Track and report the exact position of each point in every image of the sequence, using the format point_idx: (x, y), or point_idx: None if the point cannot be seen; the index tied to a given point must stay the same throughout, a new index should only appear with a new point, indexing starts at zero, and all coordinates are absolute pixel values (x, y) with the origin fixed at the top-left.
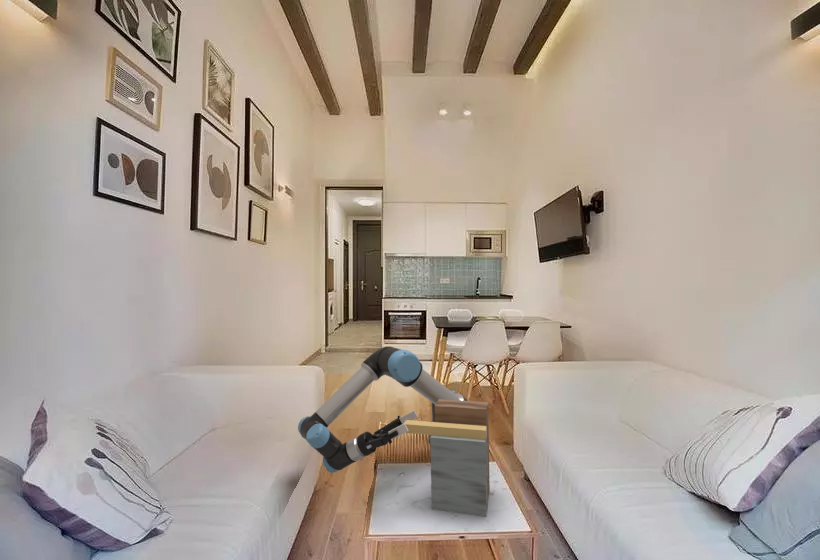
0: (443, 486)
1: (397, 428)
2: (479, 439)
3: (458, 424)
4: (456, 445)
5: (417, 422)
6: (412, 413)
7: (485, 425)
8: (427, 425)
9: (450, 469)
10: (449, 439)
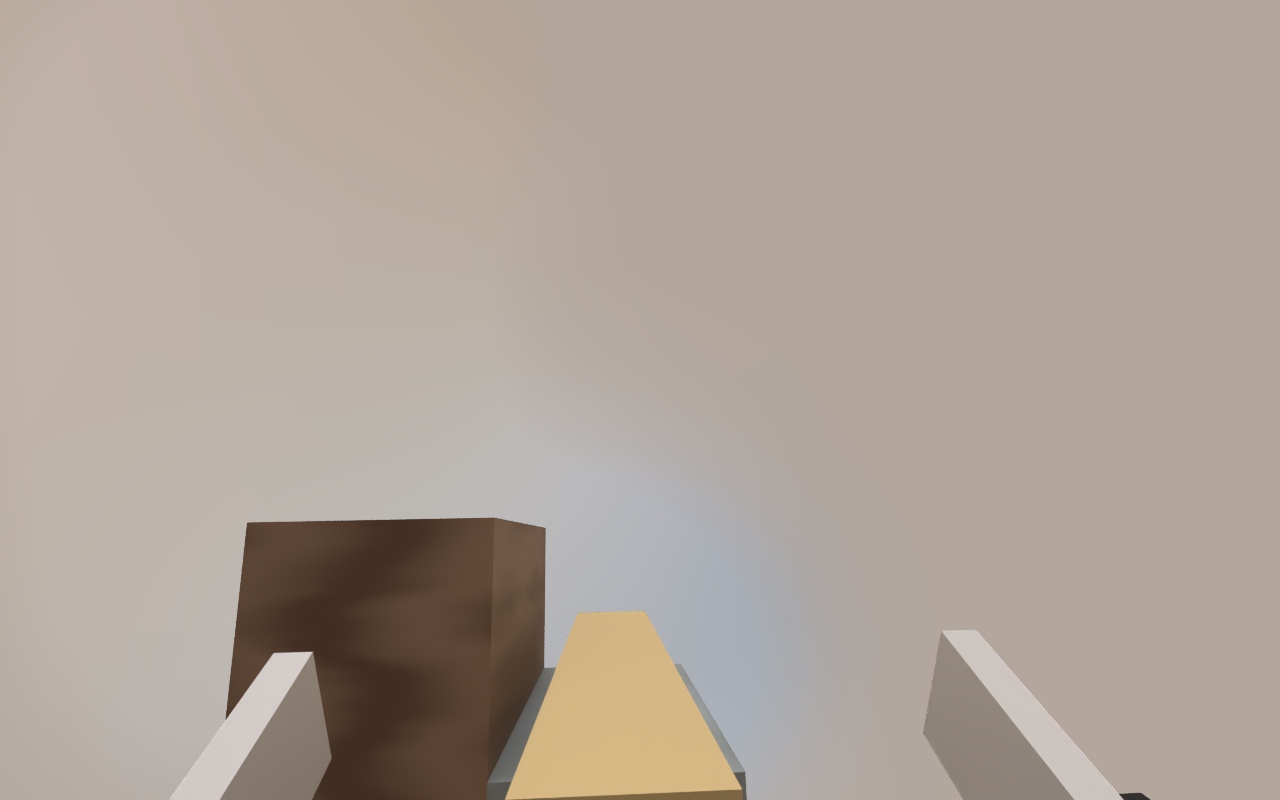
0: None
1: (1065, 750)
2: None
3: (579, 635)
4: None
5: (599, 721)
6: (290, 723)
7: (543, 624)
8: (669, 681)
9: None
10: (711, 719)
